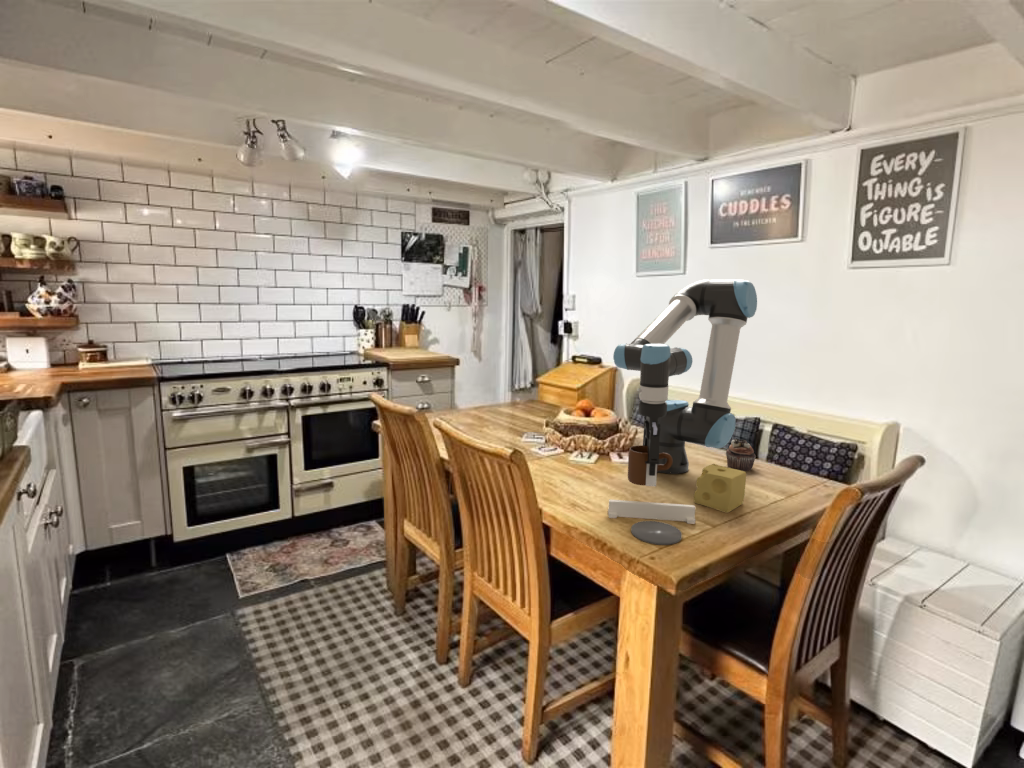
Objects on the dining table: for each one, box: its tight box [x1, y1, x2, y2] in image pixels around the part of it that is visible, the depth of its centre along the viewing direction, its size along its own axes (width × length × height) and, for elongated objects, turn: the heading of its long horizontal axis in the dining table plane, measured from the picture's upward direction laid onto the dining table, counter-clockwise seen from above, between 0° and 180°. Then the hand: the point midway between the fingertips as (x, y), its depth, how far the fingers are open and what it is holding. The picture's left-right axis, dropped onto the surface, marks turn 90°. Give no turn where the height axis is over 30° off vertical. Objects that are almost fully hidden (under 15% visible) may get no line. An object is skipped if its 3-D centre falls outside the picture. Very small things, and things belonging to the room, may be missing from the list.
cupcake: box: [725, 437, 757, 472], centre depth 189 cm, size 10×10×10 cm
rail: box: [607, 499, 696, 525], centre depth 143 cm, size 4×22×4 cm, turn 83°
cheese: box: [693, 463, 747, 514], centre depth 154 cm, size 10×11×10 cm
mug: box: [627, 445, 673, 486], centre depth 151 cm, size 12×8×9 cm, turn 65°
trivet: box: [630, 520, 683, 546], centre depth 134 cm, size 12×12×1 cm
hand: (648, 480), depth 153 cm, fingers closed on mug, 7 cm apart
